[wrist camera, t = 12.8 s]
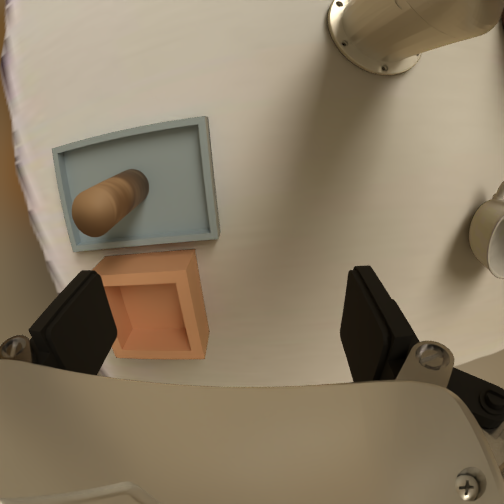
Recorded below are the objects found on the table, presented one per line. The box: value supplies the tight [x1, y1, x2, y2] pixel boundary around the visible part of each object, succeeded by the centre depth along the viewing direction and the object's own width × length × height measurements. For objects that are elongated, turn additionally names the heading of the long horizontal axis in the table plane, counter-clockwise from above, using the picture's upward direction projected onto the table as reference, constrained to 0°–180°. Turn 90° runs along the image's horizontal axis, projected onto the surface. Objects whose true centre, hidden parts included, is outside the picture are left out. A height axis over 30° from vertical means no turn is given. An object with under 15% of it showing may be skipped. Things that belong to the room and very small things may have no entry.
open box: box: [93, 249, 210, 359], centre depth 39 cm, size 13×13×6 cm
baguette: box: [72, 169, 149, 237], centre depth 30 cm, size 4×4×11 cm
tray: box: [52, 116, 220, 252], centre depth 34 cm, size 14×20×2 cm
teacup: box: [469, 181, 504, 279], centre depth 33 cm, size 14×11×8 cm
